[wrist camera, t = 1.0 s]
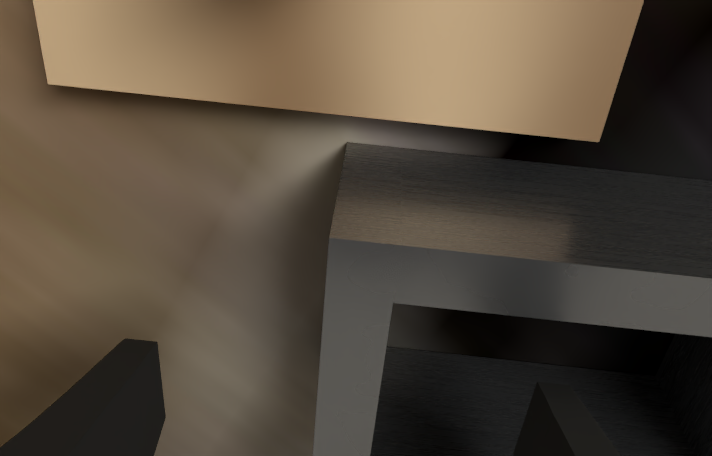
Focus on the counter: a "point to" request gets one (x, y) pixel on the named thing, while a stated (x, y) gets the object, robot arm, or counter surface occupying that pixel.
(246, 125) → the counter surface
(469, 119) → the board
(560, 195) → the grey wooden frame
